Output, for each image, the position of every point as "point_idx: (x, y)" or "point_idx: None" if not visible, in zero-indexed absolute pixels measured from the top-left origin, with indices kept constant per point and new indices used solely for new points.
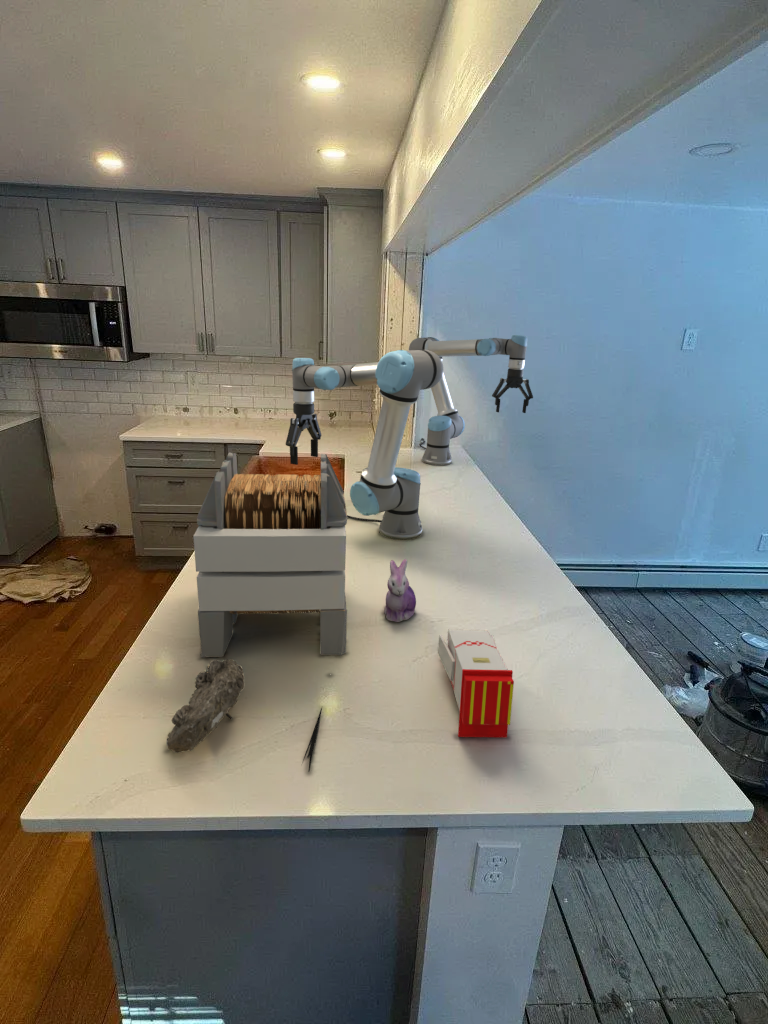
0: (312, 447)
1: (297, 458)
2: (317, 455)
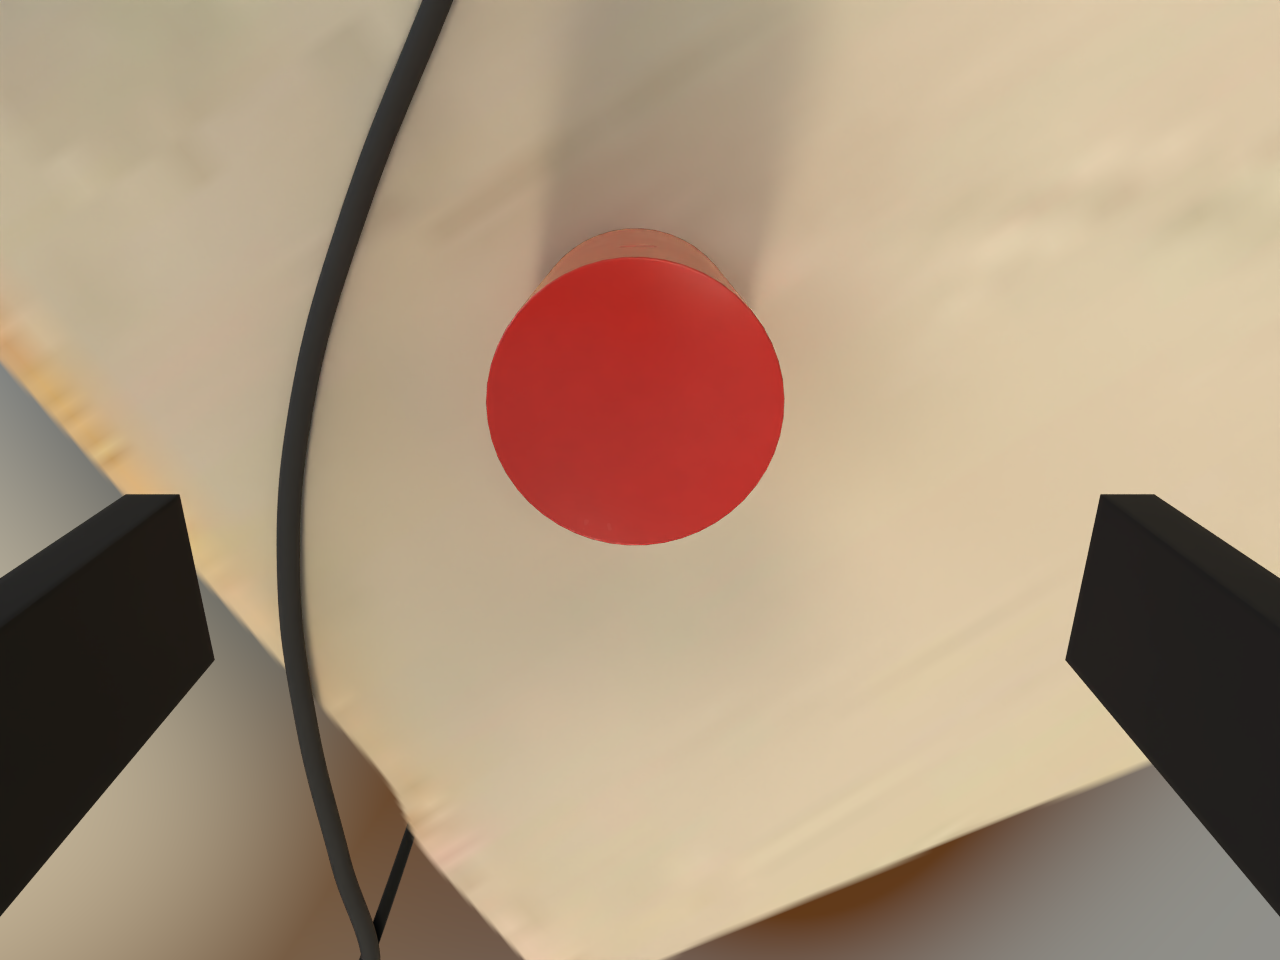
0: (53, 778)
1: (1217, 565)
2: (125, 510)
